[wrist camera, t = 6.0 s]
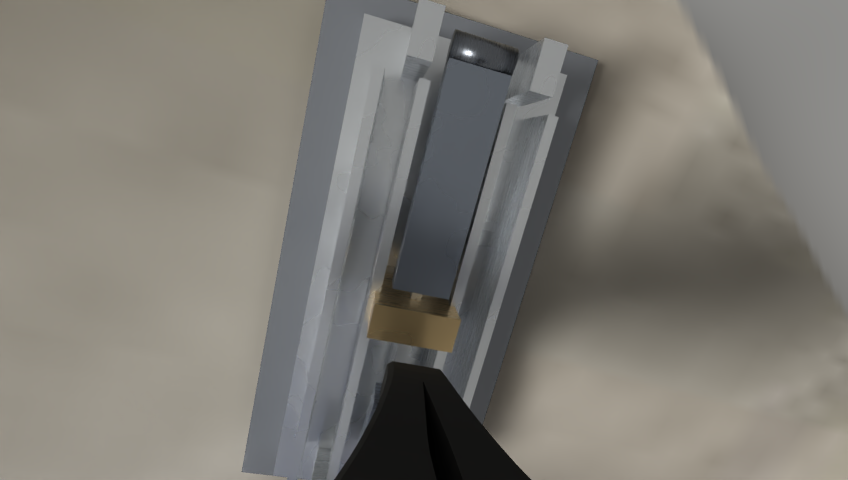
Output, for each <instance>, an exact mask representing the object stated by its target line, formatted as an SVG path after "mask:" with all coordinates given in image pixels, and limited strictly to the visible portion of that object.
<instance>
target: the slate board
mask: <svg viewBox="0 0 848 480" xmlns="http://www.w3.org/2000/svg"><path fill="white" fill-rule="evenodd" d="M417 6H418V3H415V2H412V1H409V0H326V3H325V8H324V14H323V20H322V25H321V31H320V36H319V42H318V48H317V53H316V59H315V64H314V70H313V76H312V81H311V87H310V92H309V98H308V104H307V109H306V115H305V120H304V126H303V132H302V137H301V143H300V148H299V154H298V160H297V165H296V171H295V176H294V182H293V188H292V193H291V199H290V204H289V210H288V216H287V221H286V227H285V232H284V238H283V243H282V249H281V255H280V260H279V266H278V271H277V277H276V283H275V288H274V294H273V299H272V305H271V311H270V316H269V322H268V327H267V333H266V339H265V344H264V350H263V355H262V361H261V367H260V372H259V378H258V383H257V389H256V395H255V400H254V406H253V411H252V417H251V423H250V428H249V434H248V439H247V445H246V451H245V456H244V462H243V467H242V472H246V473H255V474H263V475H272V476H273V472H274V467H275V462H276V457H277V452H278V447H279V442H280V437H281V432H282V427H283V422H284V417H285V412H286V407H287V402H288V397H289V392H290V387H291V382H292V376H293V371H294V366H295V361H296V356H297V351H298V346H299V341H300V336H301V331H302V326H303V321H304V316H305V311H306V306H307V301H308V296H309V291H310V286H311V281H312V276H313V271H314V265H315V260H316V255H317V250H318V245H319V240H320V235H321V230H322V225H323V220H324V215H325V210H326V205H327V200H328V195H329V190H330V185H331V180H332V175H333V170H334V165H335V160H336V155H337V149H338V144H339V139H340V134H341V129H342V124H343V119H344V114H345V109H346V104H347V99H348V94H349V89H350V84H351V79H352V74H353V69H354V64H355V59H356V54H357V49H358V44H359V38H360V33H361V28H362V23H363V18H364V13H365V14H369V15H372V16H375V17H378V18H382V19H385V20H388V21H392V22H395V23H398V24H401V25H405V26H408V27H411V28H412V26H413V22H414V18H415V14H416V10H417ZM455 29H457V30H460V31H463V32H467V33H470V34H473V35H476V36H479V37H483V38H486V39H489V40H492V41H496V42H499V43H502V44H505V45H509V46H512V47H515V48H518V49H519V54H521V53H522V52H524V51H525V50H527V49H528V48H530V47H531V46H533V45H534V44H536V43H537V42H539V41H536V40H532V39H529V38H526V37H523V36H520V35H517V34H513V33H510V32H507V31H504V30H501V29H498V28H494V27H491V26H488V25H485V24H482V23H479V22H475V21H472V20H469V19H466V18H463V17H460V16H456V15H453V14H450V13H447V12H444V15H443V20H442V24H441V28H440V32H439V36H441V37H444V38H447V39H452V36H453V33H454V31H455ZM597 63H598V60H596V59H593V58H590V57H586V56H583V55H580V54H577V53H574V52H571V51H567V52H566V55H565V58H564V62H563V65H562V68H561V72H560V73H562V74H565V75H567V78H566V81H565V84H564V87H563V91H562V94H561V97H560V101H559V104H558V107H557V110H556V114H555V116H556V117H559V118H558V121H557V125H556V128H555V131H554V134H553V138H552V141H551V144H550V147H549V151H548V154H547V157H546V160H545V164H544V167H543V170H542V174H541V177H540V180H539V183H538V187H537V190H536V193H535V196H534V200H533V203H532V206H531V209H530V213H529V216H528V219H527V222H526V226H525V229H524V232H523V235H522V239H521V242H520V245H519V248H518V252H517V255H516V258H515V262H514V265H513V268H512V271H511V275H510V278H509V281H508V284H507V288H506V291H505V294H504V297H503V301H502V304H501V307H500V310H499V314H498V317H497V320H496V323H495V327H494V330H493V333H492V337H491V340H490V343H489V346H488V350H487V353H486V356H485V359H484V363H483V366H482V369H481V372H480V376H479V379H478V382H477V385H476V389H475V392H474V395H473V398H472V402H471V405H470V408H469V409H470V410H471V411H472V412H473V414H474V415H475V416H476V418H477V419H478V420H479V421H480V423H481V424H482V425H483V422H484V418H485V415H486V412H487V409H488V406H489V403H490V400H491V396H492V393H493V390H494V387H495V384H496V381H497V377H498V374H499V371H500V368H501V365H502V362H503V359H504V355H505V352H506V349H507V346H508V343H509V340H510V337H511V333H512V330H513V327H514V324H515V321H516V318H517V315H518V311H519V308H520V305H521V302H522V299H523V296H524V292H525V289H526V286H527V283H528V280H529V277H530V274H531V270H532V267H533V264H534V261H535V258H536V255H537V252H538V248H539V245H540V242H541V239H542V236H543V233H544V229H545V226H546V223H547V220H548V217H549V214H550V211H551V207H552V204H553V201H554V198H555V195H556V192H557V189H558V185H559V182H560V179H561V176H562V173H563V170H564V166H565V163H566V160H567V157H568V154H569V151H570V148H571V144H572V141H573V138H574V135H575V132H576V129H577V126H578V122H579V119H580V116H581V113H582V110H583V107H584V103H585V100H586V97H587V94H588V91H589V88H590V85H591V81H592V78H593V75H594V72H595V69H596V66H597ZM280 477H282V476H280ZM298 479H299V478H298ZM306 480H307V479H306Z"/></svg>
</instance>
